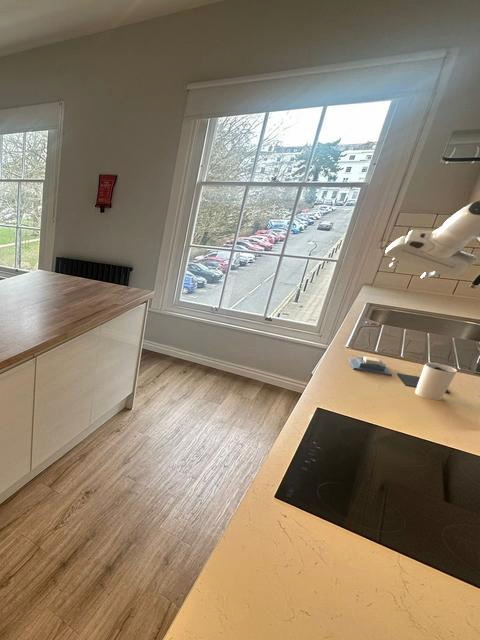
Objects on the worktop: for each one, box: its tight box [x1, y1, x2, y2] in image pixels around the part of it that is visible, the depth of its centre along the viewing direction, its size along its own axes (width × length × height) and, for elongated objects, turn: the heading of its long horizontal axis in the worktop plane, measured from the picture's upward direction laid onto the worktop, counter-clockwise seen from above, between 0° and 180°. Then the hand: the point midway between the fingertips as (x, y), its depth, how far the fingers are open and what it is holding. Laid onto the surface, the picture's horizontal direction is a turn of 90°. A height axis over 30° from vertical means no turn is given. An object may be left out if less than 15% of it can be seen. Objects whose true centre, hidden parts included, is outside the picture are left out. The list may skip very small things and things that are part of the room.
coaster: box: [396, 372, 451, 395], centre depth 133 cm, size 10×10×1 cm
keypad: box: [347, 356, 393, 377], centre depth 145 cm, size 10×10×2 cm
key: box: [362, 355, 381, 365], centre depth 144 cm, size 4×4×2 cm
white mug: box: [414, 362, 458, 401], centre depth 124 cm, size 7×7×10 cm
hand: (407, 272), depth 144 cm, fingers open, 8 cm apart
